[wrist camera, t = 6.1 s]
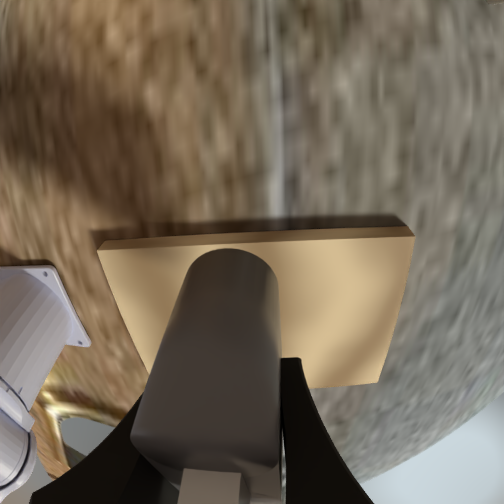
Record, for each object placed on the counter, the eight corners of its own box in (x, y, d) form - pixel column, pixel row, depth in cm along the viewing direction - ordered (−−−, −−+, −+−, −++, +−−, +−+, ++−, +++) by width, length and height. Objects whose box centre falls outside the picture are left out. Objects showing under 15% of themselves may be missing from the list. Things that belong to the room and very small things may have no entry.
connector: (215, 388, 14) (190, 549, 7) (176, 250, 10) (75, 500, 3) (283, 388, 14) (280, 555, 7) (276, 245, 10) (272, 537, 3)
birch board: (158, 374, 25) (154, 385, 24) (105, 240, 18) (96, 250, 17) (374, 370, 23) (377, 382, 22) (407, 226, 17) (415, 236, 16)
